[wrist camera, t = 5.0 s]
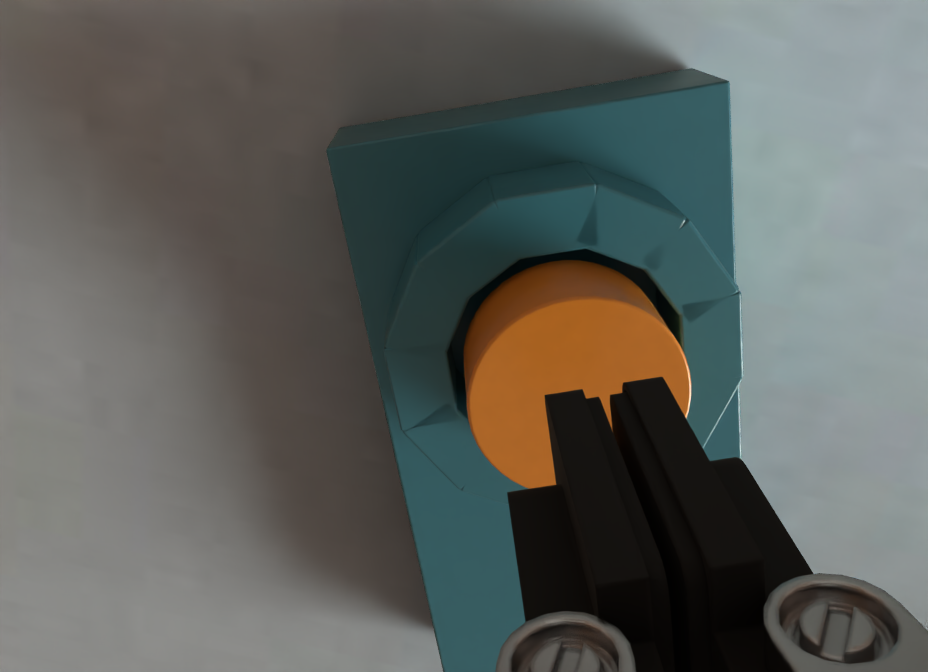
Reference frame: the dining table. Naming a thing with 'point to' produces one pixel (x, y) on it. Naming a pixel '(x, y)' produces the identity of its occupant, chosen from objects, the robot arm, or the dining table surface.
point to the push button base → (511, 251)
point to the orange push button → (559, 357)
